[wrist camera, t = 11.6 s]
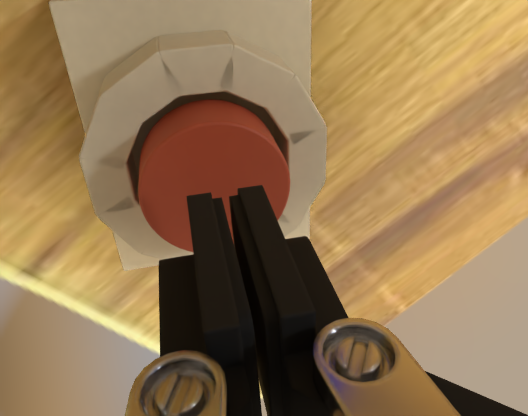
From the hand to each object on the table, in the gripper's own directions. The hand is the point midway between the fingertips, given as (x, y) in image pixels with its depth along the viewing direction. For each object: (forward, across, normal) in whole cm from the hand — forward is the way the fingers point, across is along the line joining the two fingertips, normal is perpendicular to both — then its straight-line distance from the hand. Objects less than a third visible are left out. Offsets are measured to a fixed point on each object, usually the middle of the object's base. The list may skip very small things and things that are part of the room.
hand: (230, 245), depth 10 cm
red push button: (+4, 0, 0) cm, 4 cm away
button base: (+7, 0, 0) cm, 7 cm away
